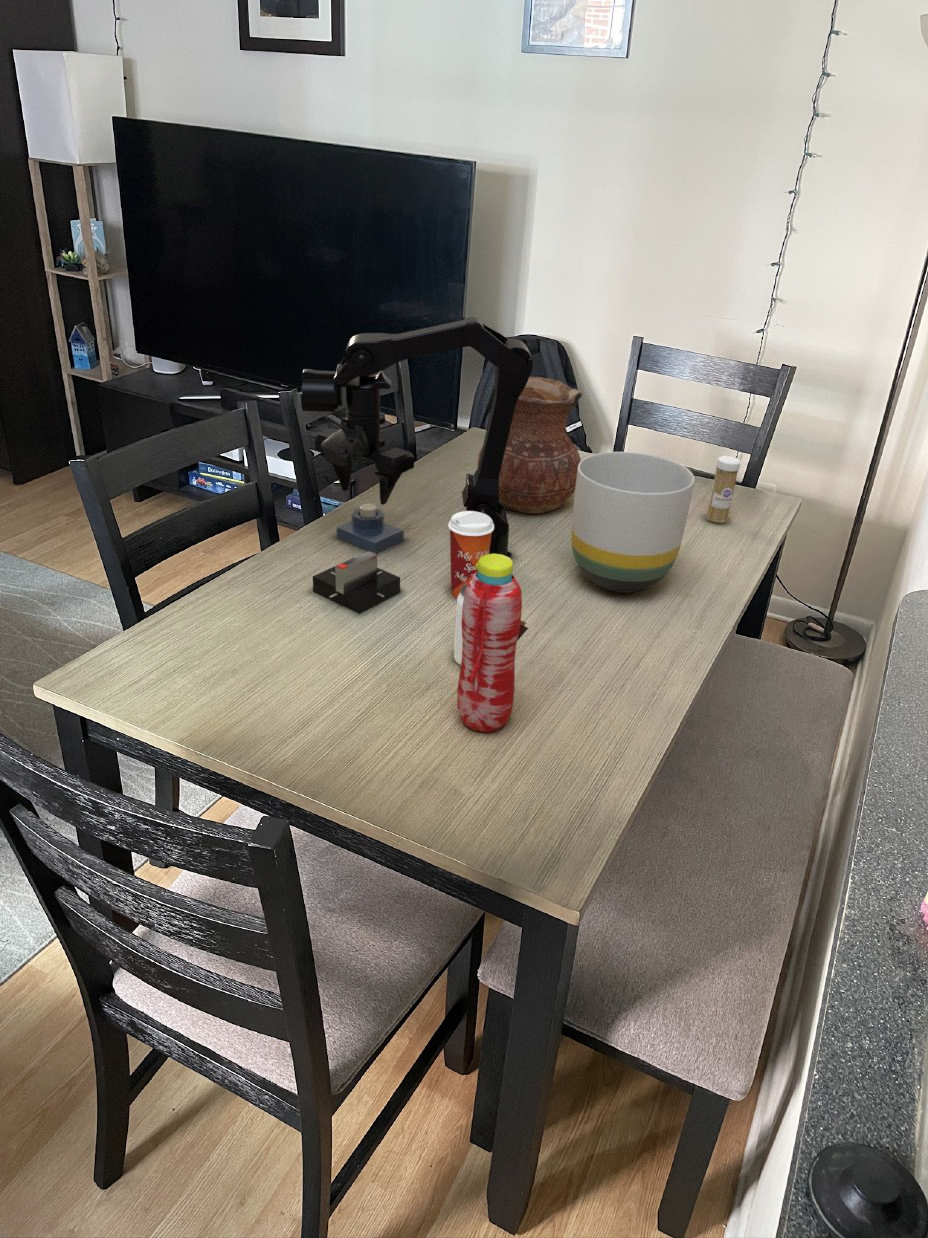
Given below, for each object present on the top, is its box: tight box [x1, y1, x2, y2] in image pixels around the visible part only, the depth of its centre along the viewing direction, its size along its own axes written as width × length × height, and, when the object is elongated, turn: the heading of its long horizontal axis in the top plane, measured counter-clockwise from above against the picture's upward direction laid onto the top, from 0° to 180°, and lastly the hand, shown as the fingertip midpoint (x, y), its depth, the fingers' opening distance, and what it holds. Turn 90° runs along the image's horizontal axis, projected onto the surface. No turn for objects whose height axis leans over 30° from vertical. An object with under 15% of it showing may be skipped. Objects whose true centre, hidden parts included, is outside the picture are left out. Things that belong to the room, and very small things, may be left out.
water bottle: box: [456, 554, 529, 733], centre depth 118 cm, size 12×8×25 cm, turn 153°
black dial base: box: [312, 557, 401, 615], centre depth 150 cm, size 14×13×3 cm
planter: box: [571, 451, 695, 593], centre depth 155 cm, size 20×20×21 cm
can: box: [453, 583, 468, 667], centre depth 133 cm, size 6×6×12 cm
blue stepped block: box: [336, 507, 404, 554], centre depth 171 cm, size 10×9×4 cm
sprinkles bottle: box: [705, 455, 741, 524], centre depth 185 cm, size 5×5×13 cm
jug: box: [477, 375, 583, 514], centre depth 185 cm, size 22×21×25 cm
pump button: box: [359, 503, 377, 517], centre depth 172 cm, size 3×3×2 cm
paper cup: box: [447, 510, 494, 599], centre depth 151 cm, size 8×8×14 cm
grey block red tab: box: [335, 551, 378, 594], centre depth 148 cm, size 8×2×5 cm, turn 141°
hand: (364, 497), depth 160 cm, fingers open, 9 cm apart
